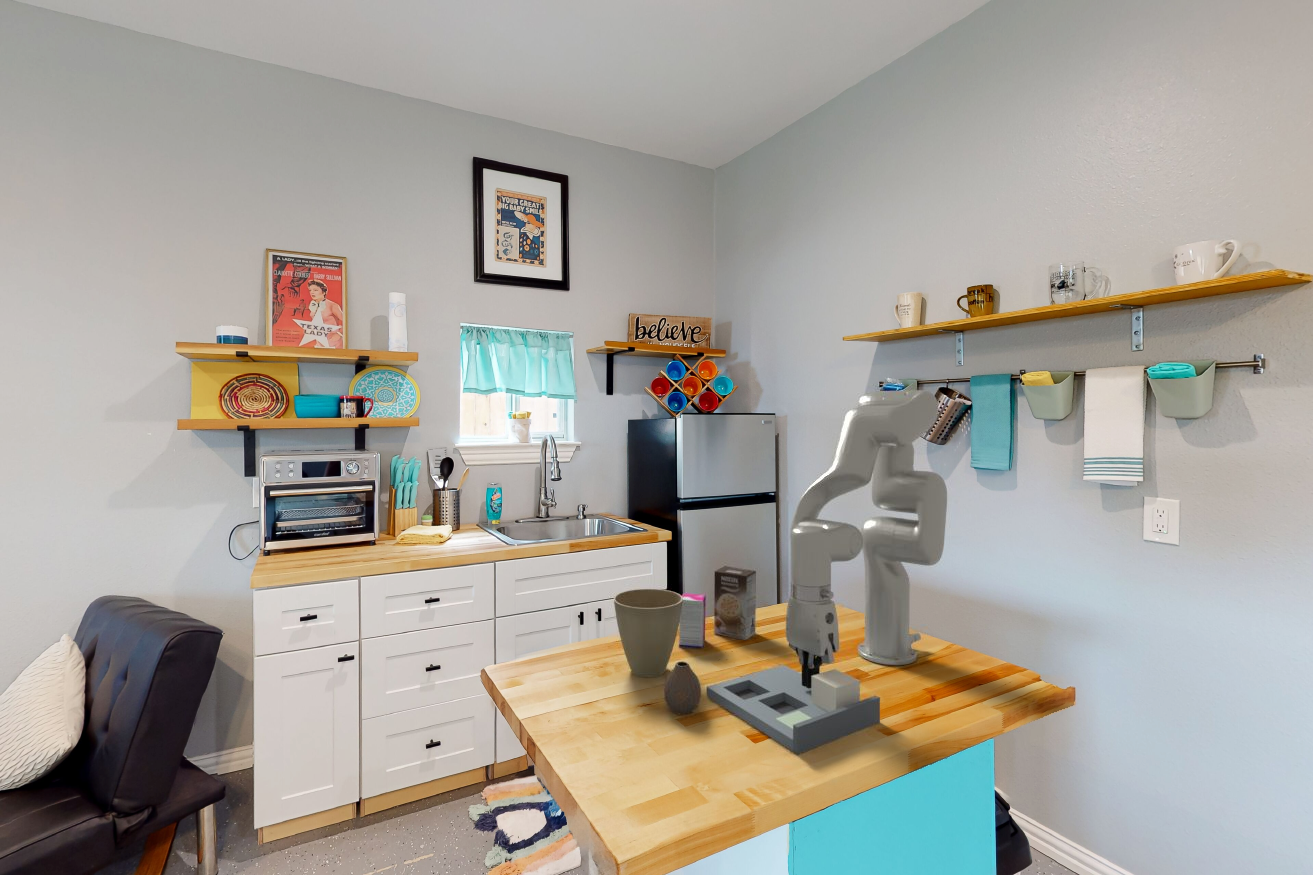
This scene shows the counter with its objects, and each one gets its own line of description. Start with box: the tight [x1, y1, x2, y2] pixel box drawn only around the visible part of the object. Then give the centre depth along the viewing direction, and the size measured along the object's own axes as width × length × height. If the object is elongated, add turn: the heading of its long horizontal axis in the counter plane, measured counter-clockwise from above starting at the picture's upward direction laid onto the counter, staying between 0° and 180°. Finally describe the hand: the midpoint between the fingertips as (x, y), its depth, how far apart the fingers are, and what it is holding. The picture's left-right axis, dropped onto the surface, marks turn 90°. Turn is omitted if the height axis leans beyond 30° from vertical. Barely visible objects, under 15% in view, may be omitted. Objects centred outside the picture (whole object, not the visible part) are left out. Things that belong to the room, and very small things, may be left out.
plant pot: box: [613, 588, 683, 678], centre depth 137 cm, size 15×15×16 cm
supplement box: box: [678, 593, 707, 649], centre depth 152 cm, size 6×6×12 cm
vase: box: [663, 661, 702, 716], centre depth 118 cm, size 7×7×9 cm
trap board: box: [706, 664, 881, 755], centre depth 118 cm, size 20×25×4 cm
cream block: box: [811, 668, 861, 712], centre depth 115 cm, size 6×6×5 cm
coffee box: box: [713, 565, 757, 641], centre depth 159 cm, size 9×6×16 cm
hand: (810, 685), depth 122 cm, fingers closed
